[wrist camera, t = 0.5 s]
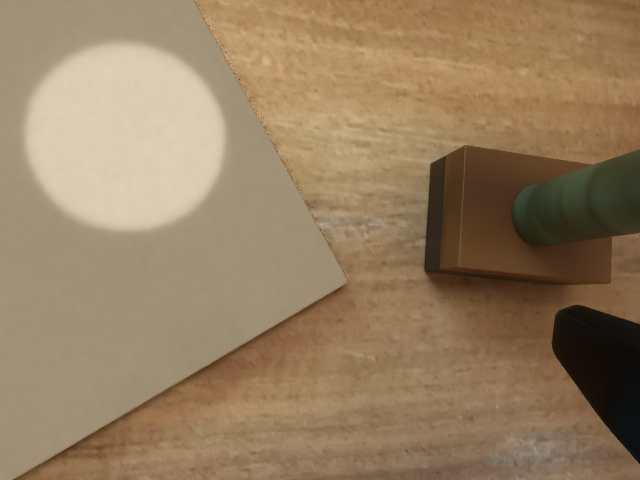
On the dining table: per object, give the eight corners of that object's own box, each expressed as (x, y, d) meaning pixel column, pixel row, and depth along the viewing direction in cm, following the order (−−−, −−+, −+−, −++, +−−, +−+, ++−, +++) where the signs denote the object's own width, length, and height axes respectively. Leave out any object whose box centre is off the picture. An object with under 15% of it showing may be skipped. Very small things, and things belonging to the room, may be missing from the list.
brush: (561, 285, 28) (882, 273, 15) (423, 271, 27) (652, 245, 14) (564, 182, 29) (876, 87, 16) (430, 163, 28) (655, 40, 15)
